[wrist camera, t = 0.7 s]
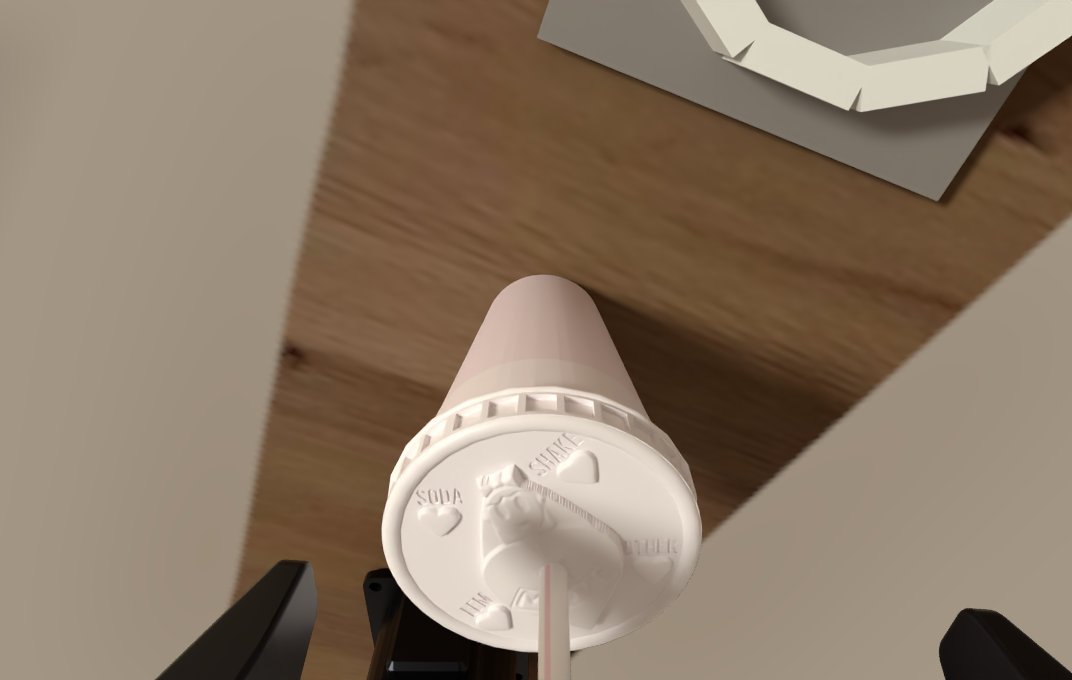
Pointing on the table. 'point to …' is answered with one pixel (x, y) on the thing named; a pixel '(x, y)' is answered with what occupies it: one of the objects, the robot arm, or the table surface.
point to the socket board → (830, 68)
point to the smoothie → (542, 489)
